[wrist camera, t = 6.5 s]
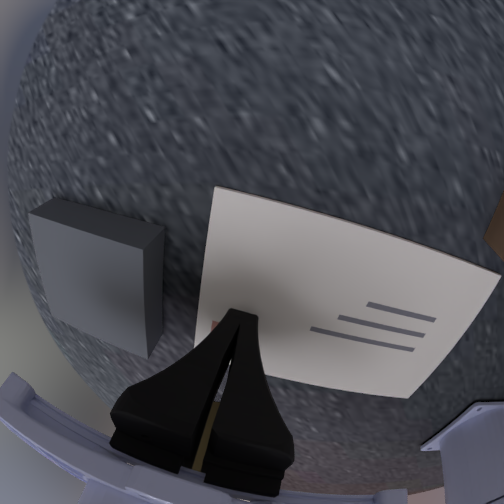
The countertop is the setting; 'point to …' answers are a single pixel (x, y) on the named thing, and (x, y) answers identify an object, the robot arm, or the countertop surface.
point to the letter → (335, 295)
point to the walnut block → (497, 230)
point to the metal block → (101, 272)
